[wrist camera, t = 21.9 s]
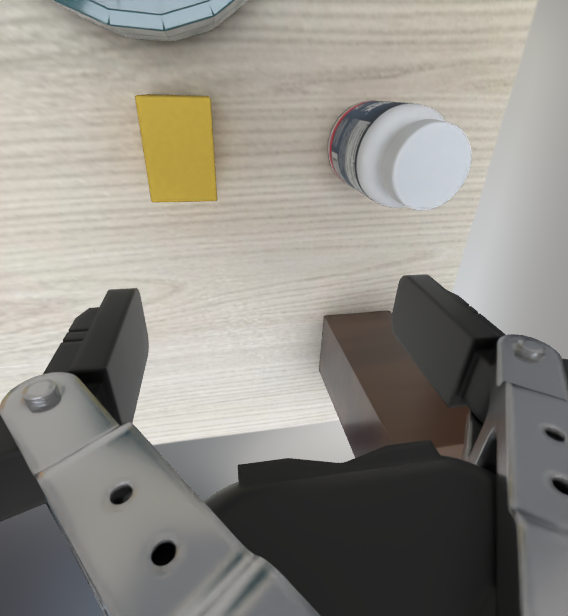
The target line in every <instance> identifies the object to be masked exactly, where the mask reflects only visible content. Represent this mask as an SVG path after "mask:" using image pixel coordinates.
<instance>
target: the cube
mask: <svg viewBox="0 0 568 616" xmlns="http://www.w3.org/2000/svg"><path fill="white" fill-rule="evenodd" d="M135 100H136V106H137V113H138V119H139V125H140V132H141V138H142V144H143V151H144V157H145V163H146V170H147V176H148V183H149V189H150V195H151V201H152V202H193V201H217V189H216V174H215V158H214V143H213V128H212V113H211V99H210V97H209V96H192V95H156V94H146V95H137V96H135Z"/></svg>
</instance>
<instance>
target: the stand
mask: <svg viewBox="0 0 568 616" xmlns="http://www.w3.org/2000/svg"><path fill="white" fill-rule="evenodd" d="M391 317H392V313H391V312H390V311H382V312H369V313H357V314H344V315H331V316H324V324H323V334H322V344H321V355H320V365H319V371H320V374H321V376H322V379H323V381H324V383H325V386H326V388H327V391H328V393H329V396H330V398H331V400H332V403H333V405H334V408H335V410H336V412H337V415H338V417H339V420H340V422H341V424H342V427H343V429H344V432H345V434H346V436H347V439H348V441H349V444H350V446H351V448H352V451H353V453H354V455H355V458H357V457H359V456H362V455H364V454H367V453H369V452H371V451H374V450H376V449H379V448H381V447H383V446H386V445H393V444H400V443H408V442H415V441H423V440H431V441H432V443H433V444H434V446H435V448H436V449H437V451H438V452H439V454H440V455H443V456H449V457H454V458H458V459H461V460H462V456H463V446H464V436H465V427H466V419H467V416H468V413H469V411H470V408H469V407H468V406H464V407H455V408H448V406H447V405H446V404H445V402H444V401H443V400H442V398H441V397H440V396H439V394H438V393H437V392H436V390H435V389H434V388H433V386H432V385H431V384H430V382H429V381H428V380H427V378H426V377H425V376H424V374H423V373H422V372H421V371H420V369H419V368H418V367H417V365H416V364H415V363H414V361H413V360H412V359H411V357H410V356H409V355H408V353H407V352H406V351H405V349H404V348H403V347H402V345H401V344H400V343H399V341H398V340H397V339H396V337H395V336H394V334H393V331H392V327H391Z"/></svg>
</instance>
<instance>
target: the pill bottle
mask: <svg viewBox="0 0 568 616" xmlns="http://www.w3.org/2000/svg"><path fill="white" fill-rule="evenodd" d="M328 156H329V161H330V164H331V167H332V169H333V170H334V172H335V174H336V175H337V176H338V177H339V178H340V179H341V180H342V181H344V182H345V183H347V184H348V185H350V186H351V187H353V188H355V189H356V190H358V191H360V192H361V193H363V194H364V195H366V196H367V197H368V198H370V199H371V200H373V201H375V202H376V203H378V204H381V205H383V206H387V207H394V208H401V207H409V208H411V209H414V210H430V209H434V208H436V207H439V206H441V205H442V204H444V203H446V202H447V201H448V200H450V199H451V198H452V197H453V196H454V195H455V194H456V193H457V192H458V190H459V189H460V188H461V187H462V185H463V183H464V181H465V179H466V177H467V175H468V172H469V169H470V165H471V146H470V142H469V140H468V137H467V136H466V134H465V133H464V132H463V130H462V129H461V128H459V127H458V126H456V125H455V124H453V123H450V122H446V121H445V119H444V118H443V117H442V116H441V114H439V113H438V112H437V111H436V110H434V109H432V108H430V107H428V106H425V105H421V104H414V103H399V102H384V101H365V102H361V103H358V104H356V105H354V106H352V107H350V108H349V109H348V110H346V111H345V112H344V113H343V114H342V115H341V116H340V117H339V119H338V120H337V122H336V123H335V125H334V127H333V129H332V131H331V134H330V138H329V143H328Z"/></svg>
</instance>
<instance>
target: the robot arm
mask: <svg viewBox="0 0 568 616" xmlns="http://www.w3.org/2000/svg"><path fill="white" fill-rule="evenodd" d="M391 327H392V331H393V334H394V336H395V337H396V339H397V340H398V341H399V343H400V344H401V345H402V347H403V348H404V349H405V351H406V352H407V353H408V355H409V356H410V357H411V359H412V360H413V361H414V363H415V364H416V365H417V367H418V368H419V369H420V371H421V372H422V373H423V374H424V376H425V377H426V378H427V380H428V381H429V382H430V384H431V385H432V386H433V388H434V389H435V390H436V392H437V393H438V394H439V396H440V397H441V398H442V400H443V401H444V402H445V404H446V405H447V406H448V408H455V407H464V406H468V407H469V408H470V411H469V413H468V416H467V419H466V427H465V436H464V446H463V456H462V460H461V459H458V458H454V457H449V456H443V455H440V454H439V452H438V451H437V449H436V448H435V446H434V444H433V443H432V441H431V440H423V441H415V442H408V443H400V444H393V445H386V446H383V447H381V448H379V449H376V450H374V451H371V452H369V453H367V454H364V455H362V456H359V457H357V458H355V459H352V460H350V461H348V462H344V463H332V462H322V461H311V460H301V459H290V458H286V459H279V460H271V461H264V462H256V463H249V464H241V465H238V480H239V482H236V483H234V484H231V485H229V486H227V487H225V488H223V489H222V490H220V491H218V492H216V493H215V494H213V495H212V496H211V497H209V498H208V499H206V500H205V501H204V502H203V501H202V500H201V498H200V497H199V496H198V495H197V494H196V493H195V492H194V491H193V490H192V488H191V487H190V486H189V485H188V484H187V483H186V482H185V481H184V480H183V478H182V477H181V476H180V475H179V474H178V473H177V472H176V471H175V470H174V469H173V468H172V467H171V465H170V464H169V463H168V462H167V461H166V460H165V459H164V458H163V457H162V455H161V454H160V453H159V452H158V451H157V450H156V449H155V448H154V447H153V445H152V444H151V443H150V442H149V441H148V440H147V439H146V438H145V437H144V436H143V434H142V433H141V432H140V431H139V430H138V429H137V428H136V427H135V426H134V425H133V424H132V422H133V418H134V413H135V409H136V405H137V400H138V396H139V392H140V387H141V383H142V379H143V374H144V370H145V366H146V361H147V357H148V349H149V343H148V333H147V328H146V323H145V317H144V312H143V307H142V302H141V297H140V293H139V290H138V289H137V288H132V289H112V290H108V292H107V294H106V296H105V298H104V300H103V302H102V304H101V305H100V307H97V308H89V309H87V310H86V311H85V312H84V313H82V314H81V315H80V316H78V317H77V318H76V319H75V320H74V322H73V324H72V325H71V327H70V329H69V333H67V334H66V336H65V337H64V339H63V343H61V344H60V346H59V348H58V349H57V351H56V353H55V355H54V356H53V358H52V360H51V361H50V363H49V365H48V367H47V368H46V370H45V372H44V373H43V375H39V376H36V377H33V378H31V379H29V380H27V381H24V382H23V383H21V384H19V385H18V386H16V387H15V388H13V389H12V390H11V391H10V392H9V393H8V394H7V395H6V396H5V397H4V398H3V400H2V402H1V404H0V521H3V520H5V519H8V518H10V517H13V516H15V515H18V514H20V513H23V512H25V511H27V510H30V509H32V508H35V507H37V506H40V505H42V504H45V503H46V505H47V507H48V509H49V511H50V512H51V514H52V516H53V518H54V520H55V522H56V523H57V525H58V527H59V529H60V531H61V533H62V535H63V537H64V539H65V540H66V542H67V544H68V546H69V548H70V550H71V552H72V553H73V555H74V557H75V559H76V561H77V563H78V565H79V567H80V568H81V570H82V572H83V574H84V576H85V578H86V580H87V582H88V584H89V585H90V588H91V589H92V591H93V593H94V595H95V597H96V599H97V601H98V603H99V605H100V607H101V608H102V610H103V612H104V614H105V615H106V616H568V359H562V358H561V356H560V354H559V353H558V352H557V351H556V350H555V349H553V348H552V347H551V346H549V345H547V344H545V343H543V342H541V341H539V340H537V339H534V338H531V337H527V336H523V335H505V334H504V333H503V332H502V331H501V330H499V329H498V328H497V327H496V326H494V325H493V324H492V323H491V322H490V321H488V320H487V319H486V318H485V317H484V316H482V315H481V314H478V312H477V311H476V310H475V309H474V308H472V307H471V306H469V304H468V303H466V302H465V301H464V300H463V299H462V298H461V297H459V296H458V295H456V294H454V293H452V292H450V291H448V290H446V289H445V288H443V287H442V286H441V285H440V284H439V283H437V282H436V281H435V280H434V279H433V278H431V277H430V276H429V275H427V274H425V275H405V276H403V277H402V278H401V279H400V281H399V284H398V289H397V294H396V298H395V303H394V308H393V312H392V317H391Z"/></svg>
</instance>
